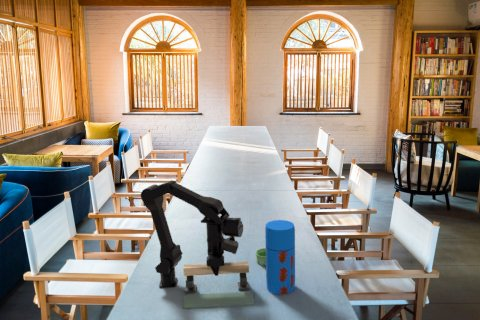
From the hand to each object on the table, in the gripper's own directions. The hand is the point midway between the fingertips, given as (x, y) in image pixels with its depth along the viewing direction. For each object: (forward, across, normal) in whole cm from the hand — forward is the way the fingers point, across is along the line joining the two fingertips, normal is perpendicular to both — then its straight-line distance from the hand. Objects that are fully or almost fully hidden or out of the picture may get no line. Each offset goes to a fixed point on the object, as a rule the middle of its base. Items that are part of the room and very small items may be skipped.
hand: (216, 273), depth 168 cm
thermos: (+7, 0, -24) cm, 25 cm away
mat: (+7, -7, 0) cm, 10 cm away
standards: (+7, +1, 0) cm, 7 cm away
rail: (0, 0, 0) cm, 0 cm away
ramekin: (+7, +23, -21) cm, 32 cm away
